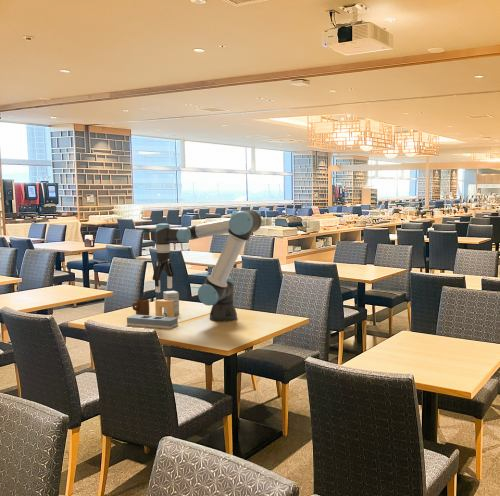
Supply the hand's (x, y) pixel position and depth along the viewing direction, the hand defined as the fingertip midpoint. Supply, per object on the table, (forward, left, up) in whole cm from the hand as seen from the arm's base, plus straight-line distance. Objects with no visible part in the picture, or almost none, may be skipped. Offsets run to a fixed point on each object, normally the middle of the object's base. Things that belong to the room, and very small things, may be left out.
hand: (163, 290), depth 313 cm
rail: (0, +14, -16) cm, 21 cm away
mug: (+17, -2, -17) cm, 24 cm away
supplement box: (+4, -15, -17) cm, 23 cm away
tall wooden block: (0, 0, -16) cm, 16 cm away
